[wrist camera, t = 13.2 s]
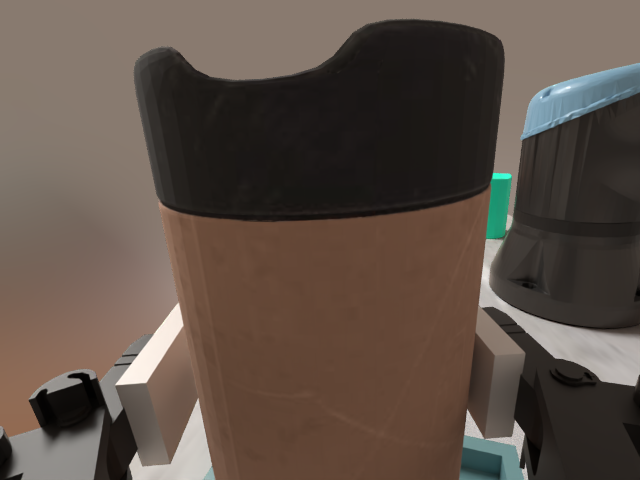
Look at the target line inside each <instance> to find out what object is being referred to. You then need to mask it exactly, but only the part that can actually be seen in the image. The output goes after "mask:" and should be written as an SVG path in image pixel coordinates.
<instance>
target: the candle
mask: <svg viewBox="0 0 640 480" xmlns="http://www.w3.org/2000/svg"><path fill="white" fill-rule="evenodd" d="M511 180H512V176H511V175H510V174H500V173H493V178H492V180H491V182H490V183H491V195H490V204H489V214H488V223H487V232H486V239H495V238H502V237H503V236H504V235H505V230H506V222H507V213H508V205H509V196H510V189H511Z"/></svg>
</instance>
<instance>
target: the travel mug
mask: <svg viewBox="0 0 640 480" xmlns="http://www.w3.org/2000/svg"><path fill="white" fill-rule="evenodd" d="M504 62H505V58H504V49H503V45H502V42H501V40H499V39H498V38H497V37H496V36H495V35H492V34H490V33H488V32H486V31H483V30H481V29H478V28H474V27H470V26H466V25H462V24H456V23H449V22H443V21H433V20H419V19H398V20H397V19H395V20H384V21H379V22H375V23H370V24H367V25H365V26H363V27H362V28H360V29H358V30H357V31H355V32H354V33H352V35H351V36H350V37H349V38H348V39H347V40H346V42H345V43H344V44H343V45H342V46H341V47H340V49H339V50H338V51H337V52H336V53H335V55H334V56H333V57H331V58H330V59H328V60H327V61H325V62H324V63H322V64H321V65H319V66H318V67H316V68H312V69H310V70H306V71H303V72H300V73H296V74H293V75H287V76H280V77H273V78H267V79H252V80H230V79H222V78H214V77H209V76H208V75H205V74H203V73H201V72H199V71H197V70H195V69H194V68H193V67H192V66H191V65H190V64H189V63H188V62H187V61H186V60H185V58H184V57H183V56H182V55H181V54H180V53H179V52H178V51H177V50H175V49H173V48H172V47H163V46H161V47H158V48H155V49H152V50H150V51H148V52H147V53H145V54H143V55H142V56H140V58H139V59H138V60H137V61H136V63H135V67H134V82H135V89H136V96H137V100H138V106H139V111H140V116H141V121H142V125H143V130H144V135H145V140H146V144H147V150H148V155H149V159H150V164H151V169H152V174H153V179H154V184H155V188H156V194H157V196H158V198H159V208H160V213H161V218H162V223H163V227H164V232H165V237H166V242H167V247H168V252H169V257H170V262H171V267H172V271H173V276H174V281H175V286H176V291H177V296H178V301H179V306H180V311H181V315H182V320H183V325H184V330H185V335H186V340H187V345H188V350H189V354H190V359H191V364H192V369H193V374H194V379H195V384H196V389H197V393H198V398H199V403H200V408H201V413H202V418H203V423H204V428H205V432H206V437H207V442H208V447H209V452H210V457H211V462H212V467H213V472H214V476H215V480H459V477H460V468H461V459H462V450H463V441H464V431H465V422H466V413H467V404H468V395H469V386H470V377H471V368H472V359H473V350H474V341H475V332H476V322H477V313H478V304H479V295H480V286H481V277H482V268H483V259H484V250H485V241H486V232H487V223H488V214H489V204H490V195H491V183H490V182H491V180H492V178H493V169H494V159H495V151H496V140H497V132H498V123H499V114H500V105H501V96H502V87H503V78H504Z"/></svg>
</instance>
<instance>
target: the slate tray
mask: <svg viewBox="0 0 640 480" xmlns="http://www.w3.org/2000/svg"><path fill="white" fill-rule="evenodd" d="M519 466H520V462H519V458H518V454H517V450H516V446H513V445H508V444H503V443H499V442H494V441H489V440H484V439H480V438H475V437H470V436H465V435H464V441H463V450H462V459H461V468H460V477H459V480H524V477H523V474H522V470H521V468H519ZM203 480H215V476H214V472H213V467H211V468H210V470H209V471H208V473H207V474H206V476H205V478H204V479H203Z"/></svg>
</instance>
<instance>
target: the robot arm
mask: <svg viewBox="0 0 640 480" xmlns="http://www.w3.org/2000/svg"><path fill="white" fill-rule="evenodd" d="M521 140H523V141H522V149H521V158H520V165H519V173H518V182H517V190H516V197H515V205H514V214H513V220H512V225H511V227H510V229H509V231H508V233H507V235H506V237H505V238H504V240H503V242H502V244H501V246H500V248H499V250H498V252H497V254H496V256H495V258H494V260H493V261H492V264H491V268H490V277H489V285H490V287H491V289H492V290H493V291H494V292H495V294H497V295H498V296H499V297H500V298H501V299H503V300H504V301H506V302H508V303H509V304H511V305H513V306H515V307H517V308H519V309H521V310H524V311H526V312H529V313H531V314H534V315H537V316H540V317H543V318H547V319H550V320H554V321H558V322H563V323H567V324H573V325H579V326H587V327H599V328H619V327H628V326H633V325H637V324H640V63H637V64H633V65H628V66H623V67H619V68H615V69H611V70H606V71H602V72H599V73H595V74H590V75H586V76H583V77H579V78H575V79H571V80H568V81H565V82H561V83H558V84H555V85H552V86H550V87H547V88H545V89H543V90H541V91H540V92H539V93H537V94H536V95H535V96H534V97H533V99H532V100H531V102H530V104H529V106H528V111H527V116H526V122H525V127H524V132H523V134H522V135H521ZM197 399H198V393H197V389H196V384H195V379H194V374H193V369H192V364H191V359H190V354H189V350H188V345H187V340H186V335H185V330H184V325H183V320H182V315H181V311H180V306H179V302H178V304H177V305H176V306H175V308H174V309H173V310H172V312H171V313H170V314H169V316H168V317H167V318H166V319H165V321H164V322H163V323H162V325H161V326H160V327H159V328H158V330H157V331H156V332H155V334H148V335H144V336H142V337H141V338H139V339H138V340H136V341H135V342H134V343H132V344H131V345H130V346H129V347H128V349H127V350H126V351H125V352H124V353H123V354H122V357H121V358H119V359H118V360H117V362H116V363H115V365H114V366H113V367H112V368H111V369H110V370H109V371H108V372H107V374H106V375H105V376H104V377H103V378H102V380H101V381H100V382H99V381H98V379H97V375H96V373H95V372H94V371H92V370H90V369H79V370H75V371H70V372H67V373H65V374H62V375H60V376H57V377H55V378H54V379H52V380H50V381H48V382H47V383H45V384H43V385H42V386H41V387H40V388H38V389H37V390H36V391H35V392H34V393H33V395H32V396H31V397H30V398H29V402H30V404H31V406H32V408H33V411H34V413H35V415H36V417H37V419H38V422H39V424H40V426H41V428H38V429H35V430H32V431H29V432H25V433H22V434H19V435H16V436H12V437H9V438H8V437H7V435H6V433H5V431H4V429H3V427H1V426H0V480H132V475H131V471H130V468H129V465H130V463H131V461H132V459H133V457H134V455H135V453H136V452H138V455H139V458H140V461H141V464H142V466H152V465H164V464H171V461H172V459H173V456H174V454H175V452H176V449H177V447H178V445H179V442H180V440H181V437H182V435H183V433H184V430H185V428H186V425H187V423H188V421H189V418H190V416H191V413H192V411H193V409H194V406H195V404H196V401H197ZM467 409H468V411H469V412H470V414H471V416H472V418H473V419H474V421H475V423H476V425H477V426H478V428H479V430H480V432H481V433H482V435H483V437H484V439H488V438H500V437H512V434H513V428H514V422H515V420H516V422H517V423H518V424H519V426H520V427H521V429H522V430H523V431H524V433H525V436H524V442H523V447H522V453H521V459H520V466H519V468H522V469H524V468H525V462H526V467H527V473H528V479H529V480H640V375H639V377H638V380H637V384H636V386H629V385H622V384H615V383H608V382H602V381H600V380H599V378H598V377H597V376H596V375H595V374H594V373H592V372H591V371H590V370H588V369H587V368H585V367H583V366H581V365H579V364H576V363H574V362H571V361H567V360H563V359H555V358H554V357H553V356H552V355H551V354H550V353H549V352H547V351H546V350H545V349H544V348H543V347H542V346H541V345H540V344H539V343H538V342H537V341H536V340H534V339H533V338H532V337H531V336H530V335H529V334H528V333H526V332H525V330H524V329H523V328H521V327H520V326H519V325H517V323H516V322H515V321H514V320H513V319H512V318H511V317H510V316H508V315H507V314H506V313H504V312H502V311H500V310H498V309H496V308H494V307H485V308H481V307H480V306H479V305H478V313H477V322H476V332H475V341H474V350H473V359H472V368H471V377H470V386H469V395H468V404H467Z"/></svg>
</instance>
